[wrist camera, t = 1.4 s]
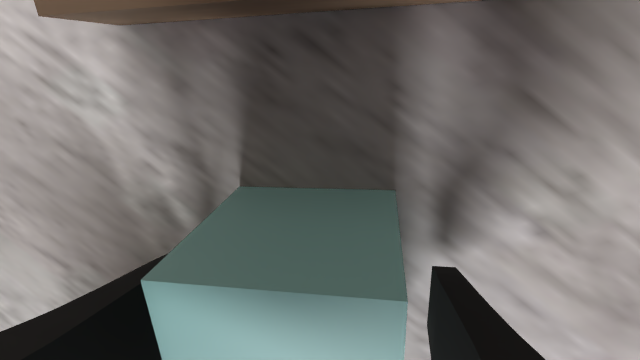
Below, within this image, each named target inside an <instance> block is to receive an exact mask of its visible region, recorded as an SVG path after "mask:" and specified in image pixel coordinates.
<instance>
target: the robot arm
mask: <svg viewBox="0 0 640 360" xmlns="http://www.w3.org/2000/svg"><path fill="white" fill-rule="evenodd" d="M167 255H168V254H166V255H164V256H162V257H160V258H158V259H155V260H153V261H151V262H149V263H147V264H145V265H143V266H141V267H139V268H137V269H135V270H134V271H132V272H130V273H128V274H126V275H124V276H122V277H120V278H118V279H116V280H114V281H112V282H110V283H108V284H106V285H104V286H102V287H100V288H98V289H96V290H94V291H92V292H90V293H88V294H86V295H84V296H81V297H79V298H77V299H75V300H73V301H71V302H69V303H67V304H65V305H63V306H61V307H58V308H56V309H54V310H52V311H50V312H47V313H45V314H43V315H40V316H38V317H36V318H33V319H31V320H28V321H26V322H24V323H21V324H19V325H16V326H14V327H11V328H9V329H6V330H4V331H1V332H0V360H162V358H161V354H160V350H159V347H158V343H157V339H156V336H155V332H154V328H153V325H152V321H151V317H150V314H149V310H148V306H147V303H146V299H145V295H144V292H143V288H142V284H141V281H140V280H141V279H142V278H143V277H144V276H145V275H146V274H148V273H149V272H150V271H151V270H152V269H153V268H154V267H155V266H156V265H157V264H158V263H159V262H160V261H161V260H162V259H163V258H164V257H166V256H167ZM427 328H428V336H429V345H430V353H431V360H545V359H544V358H543V357H542V356H541V355H540V354H539V353H538V352H537V351H536V350H534V349H533V348H532V347H531V346H530V345H529V344H528V343H527V342H526V341H525V340H524V339H523V338H522V337H520V336H519V335H518V334H517V333H516V332H515V331H514V330H513V329H512V328H511V327H510V326H509V325H508V324H507V323H506V322H505V320H504V319H503V318H502V317H501V316H500V315H499V314H498V313H497V312H496V311H495V310H494V309H493V308H492V307H491V306H490V305H489V304H488V303H487V302H486V301H485V299H484V298H483V297H482V296H481V295H480V294H479V293H478V292H477V291H476V290H475V288H474V287H473V286H472V285H471V284H470V283H469V282H468V281H467V279H466V278H465V277H464V276H463V275H462V274H461V273H460V272H459V271H458V269H457V268H456V267H438V266H432V275H431V287H430V298H429V310H428V321H427Z"/></svg>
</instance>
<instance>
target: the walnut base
mask: <svg viewBox="0 0 640 360" xmlns="http://www.w3.org/2000/svg"><path fill="white" fill-rule="evenodd" d="M466 1H480V0H34V2H35V6H36V9H37V12H38V16H42V17H51V18H60V19H69V20H78V21H86V22H95V23H104V24H113V25H131V24H146V23H160V22H175V21H189V20H204V19H218V18H233V17H248V16H262V15H277V14H291V13H306V12H320V11H335V10H349V9H364V8H378V7H393V6H407V5H422V4H437V3H451V2H466Z"/></svg>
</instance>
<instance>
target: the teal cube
mask: <svg viewBox="0 0 640 360" xmlns="http://www.w3.org/2000/svg"><path fill="white" fill-rule="evenodd" d="M140 281H141V284H142V288H143V292H144V295H145V299H146V303H147V306H148V310H149V314H150V317H151V321H152V325H153V328H154V332H155V336H156V339H157V343H158V347H159V350H160V354H161V358H162V360H404V351H405V336H406V320H407V304H408V300H407V292H406V283H405V274H404V265H403V256H402V247H401V238H400V229H399V220H398V211H397V202H396V193H395V190H362V189H321V188H280V187H239V188H238V189H237V190H235V191H234V192H233V193H232V194H231V195H230V196H229V197H228V198H227V199H226V200H225V201H224V202H223V203H222V204H221V205H220V206H219V207H217V208H216V209H215V210H214V211H213V212H212V213H211V214H210V215H209V216H208V217H207V218H206V219H205V220H204V221H203V222H202V223H201V224H199V225H198V226H197V227H196V228H195V229H194V230H193V231H192V232H191V233H190V234H189V235H188V236H187V237H186V238H185V239H184V240H182V241H181V242H180V243H179V244H178V245H177V246H176V247H175V248H174V249H173V250H172V251H171V252H170V253H169V254H168V255H167V256H166V257H164V258H163V259H162V260H161V261H160V262H159V263H158V264H157V265H156V266H155V267H154V268H153V269H152V270H151V271H150V272H149V273H148V274H146V275H145V276H144V277H143V278H142V279H141V280H140Z"/></svg>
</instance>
